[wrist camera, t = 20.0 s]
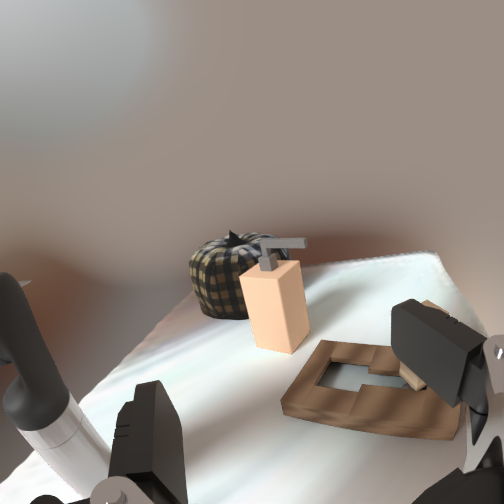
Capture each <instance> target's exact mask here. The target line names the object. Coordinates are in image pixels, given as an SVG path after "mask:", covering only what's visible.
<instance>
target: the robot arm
mask: <svg viewBox="0 0 504 504" xmlns="http://www.w3.org/2000/svg"><path fill="white" fill-rule="evenodd" d="M391 347H392V350H393V352H394V354H395V356H396V357H397V358H398V359H399V360H400V361H401V362H402V363H403V364H405V365H406V366H407V367H408V368H409V369H410V370H411V371H412V372H413V373H415V374H416V375H417V376H418V377H419V378H420V379H421V380H422V381H423V382H424V383H426V384H427V385H428V386H429V387H430V388H431V389H432V390H433V391H434V392H435V393H436V394H438V395H439V396H440V397H441V398H442V399H443V400H444V401H445V402H446V403H447V404H448V405H450V406H451V407H452V408H454V407H455V406H457V405H458V404H460V403H461V402H462V401H465V402H466V403H467V404H466V408H465V415H466V429H467V458H466V462H465V465H464V469H463V472H462V471H461V470H460V469H459V468H456V469H455V470H454V471H452V472H451V473H450V474H448V475H447V476H446V477H444V478H443V479H441V480H440V481H438V482H437V483H435V484H434V485H432V486H431V487H429V488H428V489H426V490H425V491H424V492H423V493H422V494H421V495H420V496H419V497H418V498H417V499H416V500H415V501H414V502H413V503H412V504H504V335H495V336H492V337H490V338H488V339H487V338H486V337H484V336H483V335H481V334H479V333H478V332H476V331H475V330H473V329H471V328H470V327H468V326H466V325H465V324H463V323H462V322H458V320H457V319H455V318H453V317H450V315H448V314H447V313H445V312H443V311H442V310H440V309H436V308H432V307H429V306H425V305H423V304H421V303H420V302H418V301H416V300H415V299H409V300H407V301H404V302H402V303H400V304H398V305H395V306H394V307H393V308H392V311H391ZM10 363H13V364H14V366H15V368H16V370H17V372H18V374H19V376H18V377H17V378H16V379H15V380H14V381H13V382H12V383H11V384H10V386H9V387H8V389H7V390H6V392H5V395H4V397H3V408H4V411H5V413H6V414H7V416H8V417H9V419H10V420H11V421H12V423H13V424H14V425H15V426H16V428H17V429H18V430H19V431H20V433H21V434H22V435H23V436H24V438H25V439H26V440H27V441H28V442H29V444H30V445H31V446H32V447H33V448H34V449H35V450H36V452H37V453H38V454H39V455H40V456H41V457H42V458H43V459H44V460H45V461H46V462H47V464H48V465H49V466H50V467H51V468H52V469H53V470H54V471H55V472H56V473H57V474H58V475H59V476H60V477H61V478H62V479H63V480H64V481H65V482H66V483H67V484H68V485H70V486H71V487H72V488H73V489H74V490H75V491H76V492H77V493H78V494H79V495H80V496H82V497H83V498H84V499H83V500H79V501H76V502H72V503H68V504H188V498H187V488H186V477H185V466H184V453H183V438H182V427H181V422H180V419H179V416H178V414H177V412H176V410H175V408H174V406H173V404H172V402H171V400H170V398H169V396H168V394H167V392H166V390H165V388H164V386H163V385H162V383H161V382H160V381H159V380H157V381H152V382H147V383H142V384H137V385H136V388H135V394H134V400H133V401H130V402H126V403H125V404H124V406H123V407H122V409H121V410H120V412H119V413H118V416H117V422H116V429H115V433H114V438H115V439H113V445H112V450H111V449H110V448H109V447H108V445H107V444H106V443H105V441H104V440H103V439H102V438H101V436H100V435H99V434H98V432H97V431H96V430H95V428H94V427H93V426H92V424H91V423H90V422H89V420H88V419H87V417H86V416H85V414H84V413H83V412H82V410H81V409H80V407H79V406H78V404H77V403H76V401H75V400H74V398H73V397H72V395H71V394H70V392H69V391H68V389H67V387H66V385H65V384H64V382H63V380H62V378H61V376H60V374H59V371H58V369H57V367H56V365H55V362H54V360H53V358H52V356H51V354H50V353H49V350H48V349H47V346H46V345H45V342H44V340H43V338H42V335H41V333H40V331H39V328H38V326H37V323H36V321H35V318H34V315H33V313H32V310H31V308H30V305H29V303H28V300H27V298H26V296H25V294H24V292H23V290H22V288H21V286H20V285H19V283H18V282H17V281H16V280H15V278H14V277H13V276H12V275H10V274H8V273H5V272H1V273H0V366H3V365H7V364H10ZM30 504H64V503H63V502H62V501H60V500H59V499H58V498H57V497H55V496H52V495H42V496H39V497H37V498H35V499H34V500H33V501H32V502H31V503H30Z"/></svg>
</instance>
